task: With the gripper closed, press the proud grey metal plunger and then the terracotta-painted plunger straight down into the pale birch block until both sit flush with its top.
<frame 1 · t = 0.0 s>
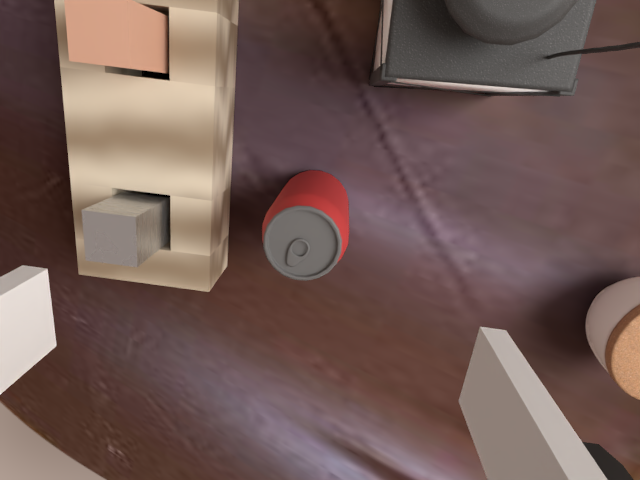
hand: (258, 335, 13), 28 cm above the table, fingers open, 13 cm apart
beer can: (314, 202, 40), on the table
metal peg: (130, 227, 33), point 8 cm above the table, slide at 5.0 cm
terracotta peg: (122, 36, 29), point 8 cm above the table, slide at 5.0 cm
birch block: (169, 130, 38), on the table
lidded jar: (619, 307, 42), on the table
lantern: (442, 21, 34), on the table
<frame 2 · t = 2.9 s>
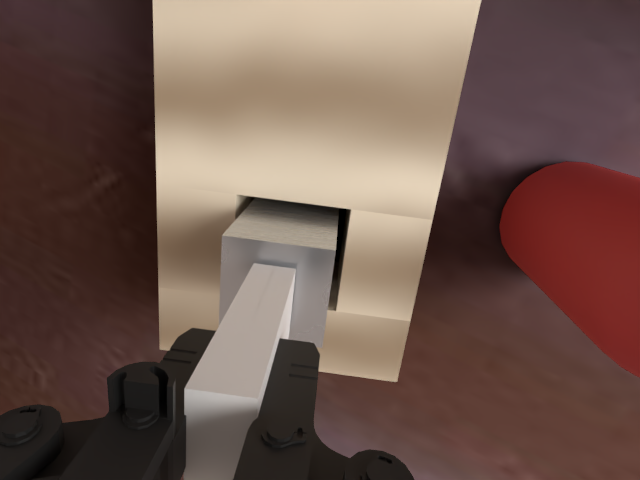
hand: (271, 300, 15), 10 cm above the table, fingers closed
beer can: (553, 216, 23), on the table
metal peg: (285, 262, 18), point 7 cm above the table, slide at 3.8 cm, touching gripper
birch block: (315, 91, 22), on the table
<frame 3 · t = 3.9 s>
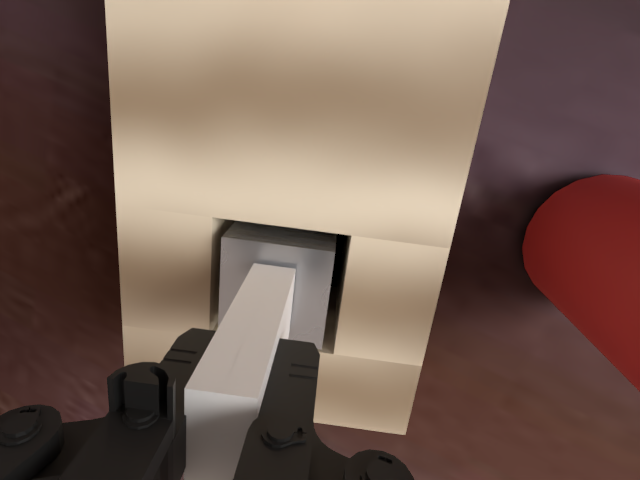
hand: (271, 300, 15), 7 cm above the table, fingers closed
beer can: (584, 237, 20), on the table
metal peg: (285, 263, 18), point 4 cm above the table, slide at 0.5 cm, touching gripper
birch block: (309, 93, 19), on the table
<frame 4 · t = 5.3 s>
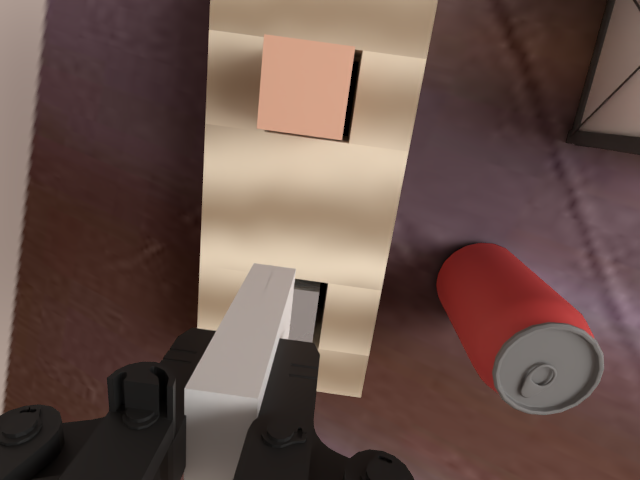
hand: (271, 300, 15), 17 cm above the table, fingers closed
beer can: (475, 278, 33), on the table
metal peg: (290, 295, 30), point 4 cm above the table, slide at 0.5 cm
terracotta peg: (309, 91, 21), point 8 cm above the table, slide at 5.0 cm
birch block: (306, 192, 31), on the table
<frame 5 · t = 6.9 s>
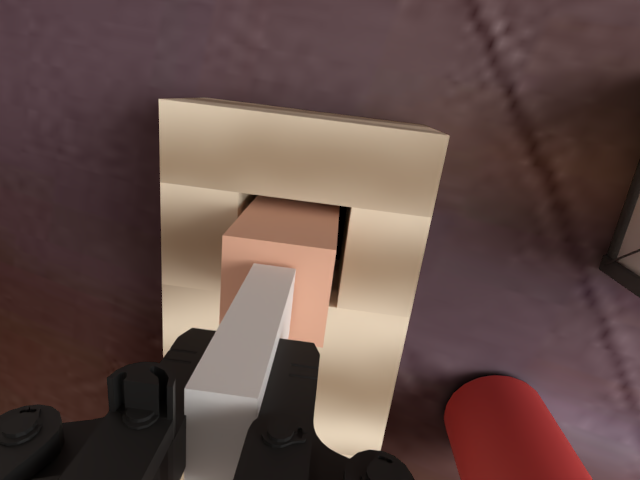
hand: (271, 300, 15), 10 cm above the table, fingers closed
beer can: (489, 407, 28), on the table
terracotta peg: (286, 262, 18), point 7 cm above the table, slide at 4.1 cm, touching gripper
birch block: (292, 317, 27), on the table
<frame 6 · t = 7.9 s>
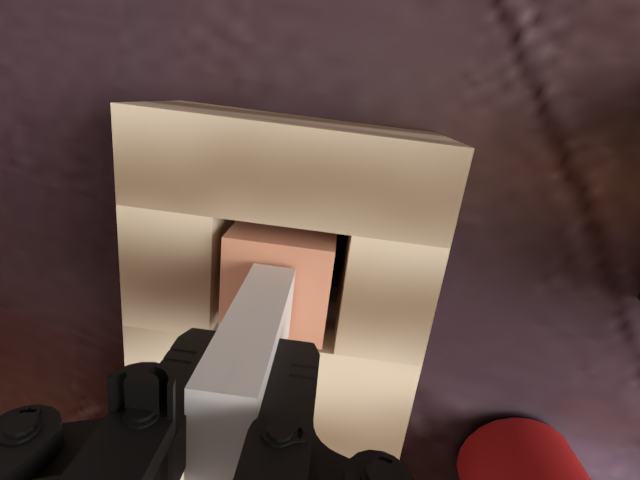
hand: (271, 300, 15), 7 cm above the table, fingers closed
beer can: (507, 451, 25), on the table
terracotta peg: (285, 263, 18), point 4 cm above the table, slide at 0.5 cm, touching gripper
birch block: (283, 352, 23), on the table
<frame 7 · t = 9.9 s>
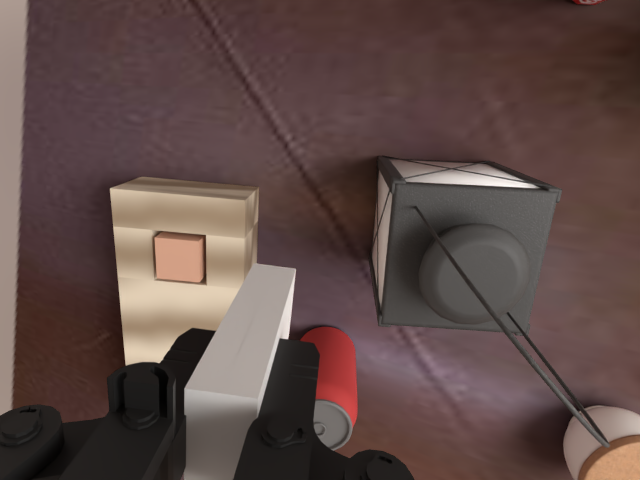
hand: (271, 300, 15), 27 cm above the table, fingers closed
beer can: (326, 348, 47), on the table
terracotta peg: (189, 249, 40), point 4 cm above the table, slide at 0.5 cm
birch block: (202, 297, 46), on the table
lidded jar: (593, 425, 48), on the table
lantern: (427, 213, 41), on the table
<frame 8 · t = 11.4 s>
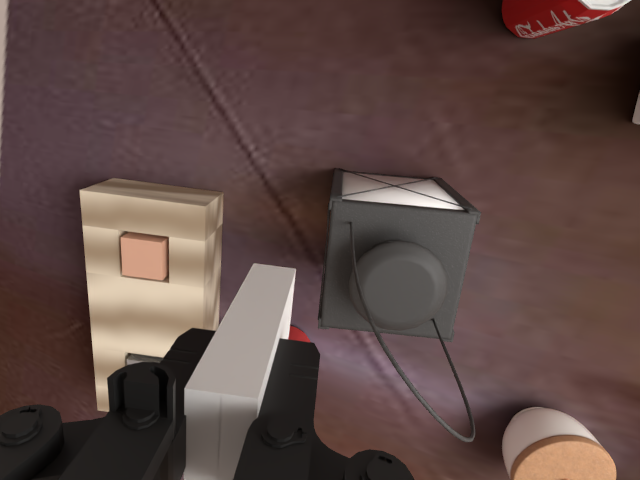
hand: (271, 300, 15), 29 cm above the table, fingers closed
metal peg: (157, 360, 47), point 4 cm above the table, slide at 0.5 cm
soda can: (530, 6, 37), on the table
terracotta peg: (155, 248, 43), point 4 cm above the table, slide at 0.5 cm
birch block: (169, 292, 48), on the table
lidded jar: (532, 424, 52), on the table
lantern: (380, 223, 44), on the table
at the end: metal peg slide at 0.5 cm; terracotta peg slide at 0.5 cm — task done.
